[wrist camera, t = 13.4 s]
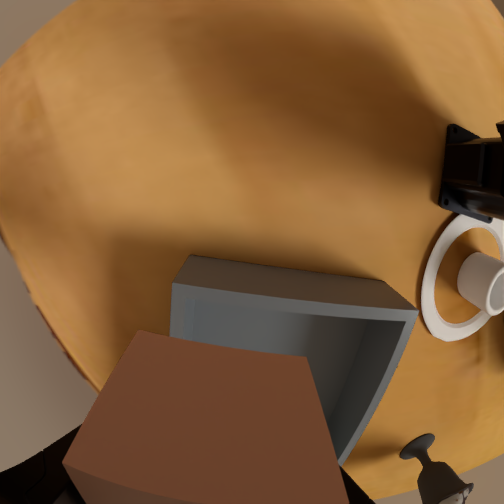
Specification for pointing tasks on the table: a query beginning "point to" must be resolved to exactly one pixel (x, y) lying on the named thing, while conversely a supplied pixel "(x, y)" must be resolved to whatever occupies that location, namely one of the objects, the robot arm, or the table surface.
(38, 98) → the table surface
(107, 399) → the cube
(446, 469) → the sundae
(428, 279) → the candle holder
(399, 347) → the tote
